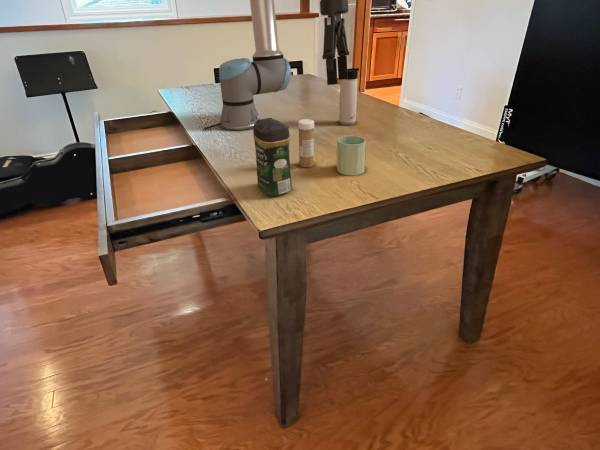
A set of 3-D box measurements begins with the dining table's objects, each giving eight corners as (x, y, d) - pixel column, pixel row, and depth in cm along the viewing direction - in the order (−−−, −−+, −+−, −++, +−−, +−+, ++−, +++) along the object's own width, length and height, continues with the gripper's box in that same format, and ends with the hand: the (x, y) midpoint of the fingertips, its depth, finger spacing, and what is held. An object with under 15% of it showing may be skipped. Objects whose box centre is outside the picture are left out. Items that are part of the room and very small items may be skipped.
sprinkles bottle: (299, 162, 126) (298, 118, 119) (314, 162, 126) (313, 118, 119) (299, 168, 122) (297, 123, 115) (314, 167, 122) (314, 123, 115)
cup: (340, 176, 116) (341, 145, 112) (334, 165, 123) (334, 136, 119) (367, 174, 117) (369, 143, 113) (360, 163, 124) (361, 134, 119)
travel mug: (355, 125, 155) (358, 70, 145) (338, 125, 157) (339, 69, 146) (357, 120, 161) (359, 66, 150) (340, 120, 162) (341, 66, 152)
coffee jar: (253, 186, 112) (247, 118, 103) (279, 179, 115) (276, 113, 106) (268, 200, 105) (263, 129, 95) (296, 193, 108) (294, 123, 98)
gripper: (336, -9, 97) (341, 86, 106) (356, -1, 119) (358, 76, 127) (306, -4, 100) (313, 87, 108) (330, 2, 121) (335, 78, 130)
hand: (338, 82), depth 118 cm, fingers open, 13 cm apart
